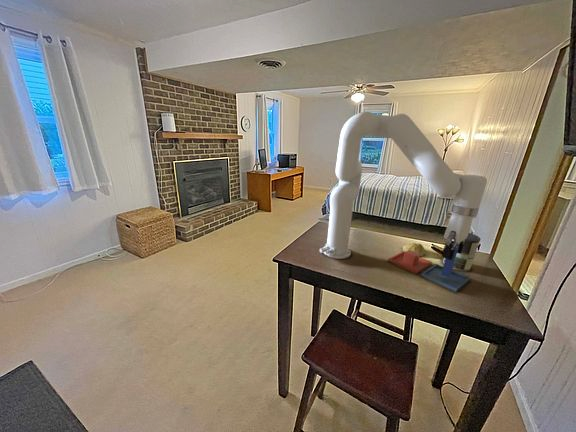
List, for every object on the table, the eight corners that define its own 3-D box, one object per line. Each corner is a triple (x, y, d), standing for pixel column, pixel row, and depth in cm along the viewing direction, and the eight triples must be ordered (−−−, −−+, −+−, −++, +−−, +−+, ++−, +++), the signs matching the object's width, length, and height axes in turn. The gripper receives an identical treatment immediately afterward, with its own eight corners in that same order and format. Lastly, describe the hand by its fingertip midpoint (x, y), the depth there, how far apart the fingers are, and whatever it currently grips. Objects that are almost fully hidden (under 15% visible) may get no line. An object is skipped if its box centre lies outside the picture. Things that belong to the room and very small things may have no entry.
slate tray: (455, 293, 85) (457, 289, 85) (420, 276, 94) (421, 273, 94) (469, 280, 93) (470, 277, 92) (435, 267, 102) (436, 263, 101)
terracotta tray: (416, 274, 96) (416, 271, 95) (387, 261, 105) (388, 258, 104) (430, 265, 103) (431, 261, 103) (403, 253, 112) (404, 250, 112)
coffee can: (450, 271, 99) (460, 239, 95) (437, 258, 109) (445, 229, 105) (476, 272, 99) (487, 241, 94) (461, 260, 109) (469, 231, 104)
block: (412, 266, 101) (414, 256, 99) (402, 261, 104) (404, 252, 103) (417, 263, 103) (420, 253, 102) (407, 258, 107) (409, 249, 105)
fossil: (406, 234, 119) (429, 239, 114) (404, 243, 122) (426, 249, 117) (401, 247, 111) (426, 253, 106) (399, 257, 114) (423, 263, 109)
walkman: (449, 277, 89) (458, 248, 85) (440, 275, 91) (449, 246, 87) (452, 269, 95) (460, 241, 91) (444, 267, 96) (451, 239, 93)
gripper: (461, 204, 92) (449, 245, 98) (442, 211, 82) (430, 257, 88) (485, 209, 87) (471, 253, 93) (467, 218, 77) (453, 266, 82)
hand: (451, 254), depth 90 cm, fingers closed on walkman, 8 cm apart
